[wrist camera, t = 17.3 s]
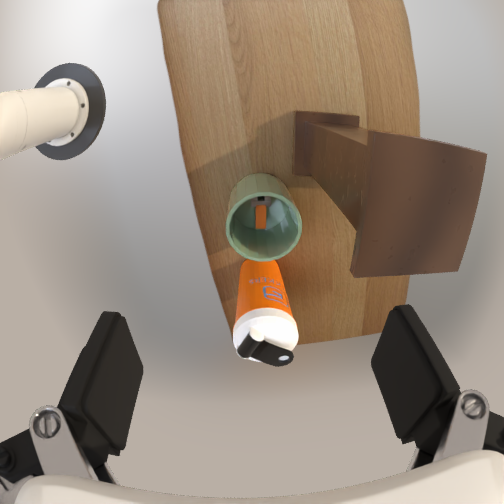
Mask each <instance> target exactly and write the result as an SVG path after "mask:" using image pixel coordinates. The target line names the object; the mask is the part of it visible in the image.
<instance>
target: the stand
mask: <svg viewBox="0 0 504 504" xmlns="http://www.w3.org/2000/svg"><path fill="white" fill-rule="evenodd" d="M486 158H487V154H486V153H484V152H481V151H479V150H475V149H471V148H467V147H463V146H459V145H455V144H450V143H445V142H441V141H436V140H431V139H426V138H421V137H415V136H410V135H404V134H397V133H391V132H384V131H376V130H366V129H363V128H360V127H359V116H355V115H346V114H336V113H324V112H310V111H294V128H293V164H292V173H293V175H294V176H313V177H314V179H315V180H316V181H317V182H318V183H319V184H320V186H321V187H322V188H323V189H324V190H325V192H326V193H327V194H328V195H329V196H330V198H331V199H332V200H333V201H334V203H335V204H336V205H337V206H338V208H339V209H340V210H341V211H342V213H343V214H344V215H345V216H346V218H347V219H348V220H349V222H350V223H351V224H352V225H353V227H354V228H355V229H356V231H357V233H356V239H355V245H354V251H353V256H352V262H351V267H350V271H351V273H352V275H353V277H354V278H360V277H379V276H397V275H413V274H429V273H442V272H455V271H458V269H459V266H460V264H461V260H462V258H463V254H464V252H465V248H466V245H467V242H468V239H469V235H470V232H471V228H472V225H473V221H474V217H475V213H476V209H477V205H478V200H479V196H480V191H481V186H482V182H483V176H484V171H485V165H486Z"/></svg>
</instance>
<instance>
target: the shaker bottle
mask: <svg viewBox="0 0 504 504" xmlns="http://www.w3.org/2000/svg"><path fill="white" fill-rule="evenodd" d="M297 341H298V331H297V324H296V322H295V320H294V318H293V316H292V312H291V309H290V305H289V302H288V298H287V294H286V291H285V287H284V284H283V280H282V277H281V273H280V270H279V266H278V264H277V262H276V261H275V260H272V261H265V262H257V261H254V260H250V259H246V260H245V261H244V262H243V264H242V266H241V269H240V279H239V289H238V300H237V311H236V322H235V325H234V328H233V343H234V346H235V348H236V349H237V353H238V355H239V356H240V357H241V358H243V359H250V360H253V361H257V362H264V363H266V364H270V365H273V366H278V367H279V366H284V365H287V364H289V363H291V362H292V360H293V358H294V356H293V353H292V352H291V351H292V349H293V348H294V347H295V346H296V344H297Z"/></svg>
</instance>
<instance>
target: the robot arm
mask: <svg viewBox="0 0 504 504" xmlns="http://www.w3.org/2000/svg"><path fill="white" fill-rule="evenodd" d="M70 83H71V84H70ZM84 104H85V106H84ZM88 112H89V102H88V97H87V94H86V91H85V90H84V88H83V87H82V85H81V84H80V83H79V82H77V81H75V80H73V79H68V78H63V79H58V80H55V81H53V82H51V83H49V84H48V85H47V86H46V87H45V88H34V89H24V90H16V91H7V92H1V93H0V160H3V159H5V158H7V157H10V156H12V155H14V154H17V153H19V152H22V151H24V150H27V149H29V148H32V147H35V146H37V145H40V144H43V143H47V144H50V145H52V146H62V145H65V144H68V143H70V142H72V141H73V140H74V139H76V138H77V137H78V135H79V134H80V133H81V132H82V130H83V128H84V126H85V124H86V121H87V118H88ZM371 366H372V369H373V372H374V374H375V377H376V380H377V382H378V385H379V388H380V390H381V393H382V396H383V399H384V401H385V404H386V407H387V409H388V413H389V416H390V418H391V421H392V424H393V427H394V430H395V433H396V436H397V437H398V438H399V439H401V441H402V444H406V443H409V442H412V441H415V443H416V446H417V447H416V449H415V452H414V454H413V456H412V459H411V461H410V464H409V466H408V468H407V470H406V472H403V473H400V474H396V475H393V476H390V477H386V478H383V479H379V480H375V481H372V482H368V483H364V484H359V485H355V486H351V487H345V488H340V489H334V490H329V491H323V492H316V493H309V494H301V495H291V496H280V497H264V498H212V497H195V496H184V495H175V494H166V493H160V492H153V491H147V490H141V489H135V488H130V487H125V486H120V484H119V483H118V481H117V479H116V477H115V476H114V474H113V472H112V471H111V469H110V467H109V466H108V464H107V458H108V454H111V455H115V456H119V455H120V450H124V448H125V446H126V441H127V437H128V432H129V428H130V423H131V419H132V415H133V411H134V407H135V403H136V399H137V395H138V391H139V387H140V383H141V380H142V375H143V365H142V362H141V360H140V357H139V355H138V352H137V350H136V347H135V344H134V342H133V339H132V336H131V333H130V330H129V328H128V325H127V322H126V319H125V317H123V316H121V314H120V313H118V312H107V311H104V312H103V313H102V314H101V316H100V318H99V320H98V322H97V324H96V326H95V328H94V330H93V332H92V334H91V336H90V338H89V340H88V342H87V344H86V346H85V347H84V348H83V349H82V351H81V353H80V355H79V357H78V360H77V362H76V364H75V366H74V368H73V371H72V373H71V375H70V377H69V380H68V382H67V384H66V387H65V389H64V392H63V394H62V396H61V399H60V401H59V404H58V406H57V407H54V406H47V405H46V406H43V407H40V408H39V409H37V410H36V411H35V412H34V413H33V414H32V416H31V418H30V423H29V429H27V430H25V431H23V432H21V433H19V434H17V435H16V436H14V437H11V438H9V439H7V440H5V441H3V442H1V443H0V504H504V417H502V416H500V415H497V414H495V413H493V412H491V411H489V404H488V401H487V399H486V397H485V396H484V395H483V394H482V393H480V392H478V391H477V390H472V389H470V390H466V391H464V392H462V393H461V392H460V390H459V389H460V387H459V385H458V383H457V381H456V379H455V378H454V376H453V374H452V372H451V370H450V369H449V367H448V365H447V363H446V362H445V360H444V358H443V356H442V354H441V353H440V351H439V349H438V348H437V346H436V344H435V342H434V341H433V339H432V337H431V336H430V334H429V333H428V331H427V329H426V328H425V326H424V325H423V323H422V322H421V320H420V319H419V317H418V315H417V313H416V312H415V311H414V309H413V307H412V306H411V305H409V304H408V305H399V306H395V307H394V308H393V310H391V311H390V312H389V315H388V318H387V320H386V323H385V326H384V329H383V331H382V334H381V337H380V339H379V342H378V344H377V347H376V349H375V352H374V354H373V356H372V359H371Z"/></svg>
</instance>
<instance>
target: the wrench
mask: <svg viewBox="0 0 504 504" xmlns="http://www.w3.org/2000/svg"><path fill="white" fill-rule="evenodd" d="M251 207H255V226H256V229H266V207H271V196H257V197H254V198H251Z"/></svg>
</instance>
